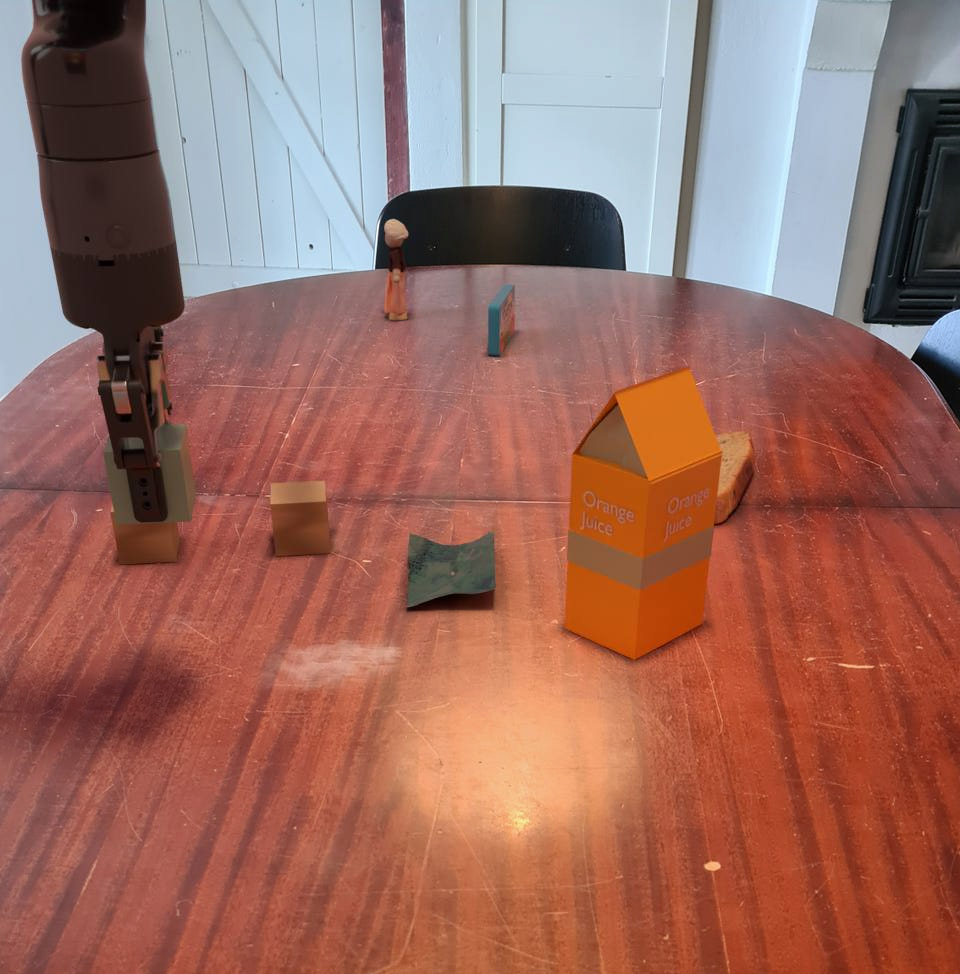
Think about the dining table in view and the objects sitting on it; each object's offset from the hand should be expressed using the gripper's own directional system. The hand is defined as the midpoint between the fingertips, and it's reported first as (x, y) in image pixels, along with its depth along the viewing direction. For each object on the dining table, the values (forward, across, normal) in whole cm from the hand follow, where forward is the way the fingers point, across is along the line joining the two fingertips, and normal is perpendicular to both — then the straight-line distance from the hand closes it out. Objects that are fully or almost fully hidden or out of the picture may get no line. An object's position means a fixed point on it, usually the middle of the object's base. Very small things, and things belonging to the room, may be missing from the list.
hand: (156, 502), depth 86 cm
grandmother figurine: (+15, -103, +22) cm, 106 cm away
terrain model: (+15, -17, +22) cm, 31 cm away
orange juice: (+14, -6, +36) cm, 39 cm away
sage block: (0, 0, 0) cm, 0 cm away
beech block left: (+15, -25, -5) cm, 30 cm away
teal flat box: (+15, -88, +35) cm, 96 cm away
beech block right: (+14, -25, +9) cm, 31 cm away
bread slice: (+14, -36, +50) cm, 63 cm away
